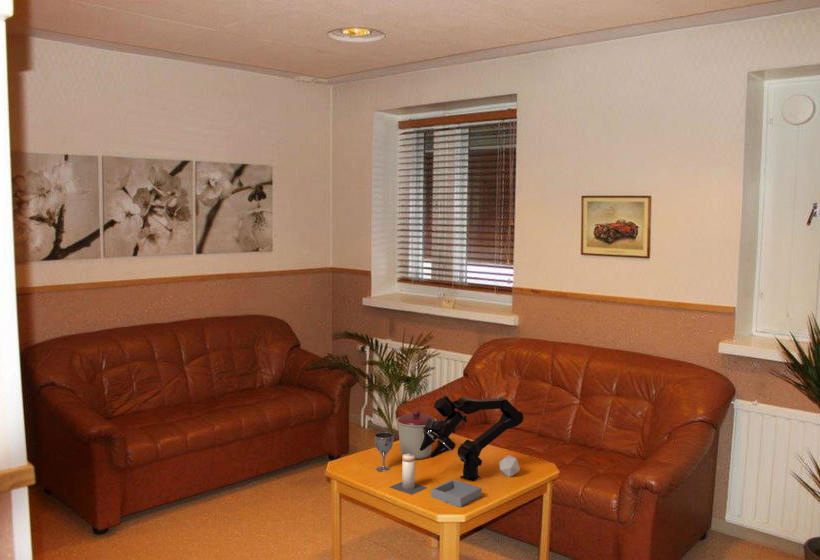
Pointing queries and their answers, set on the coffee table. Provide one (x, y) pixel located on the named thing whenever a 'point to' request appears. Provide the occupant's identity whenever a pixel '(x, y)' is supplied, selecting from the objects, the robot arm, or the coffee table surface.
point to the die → (509, 465)
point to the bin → (456, 493)
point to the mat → (413, 491)
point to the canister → (413, 433)
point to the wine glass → (383, 447)
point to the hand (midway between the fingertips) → (425, 453)
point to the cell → (408, 471)
